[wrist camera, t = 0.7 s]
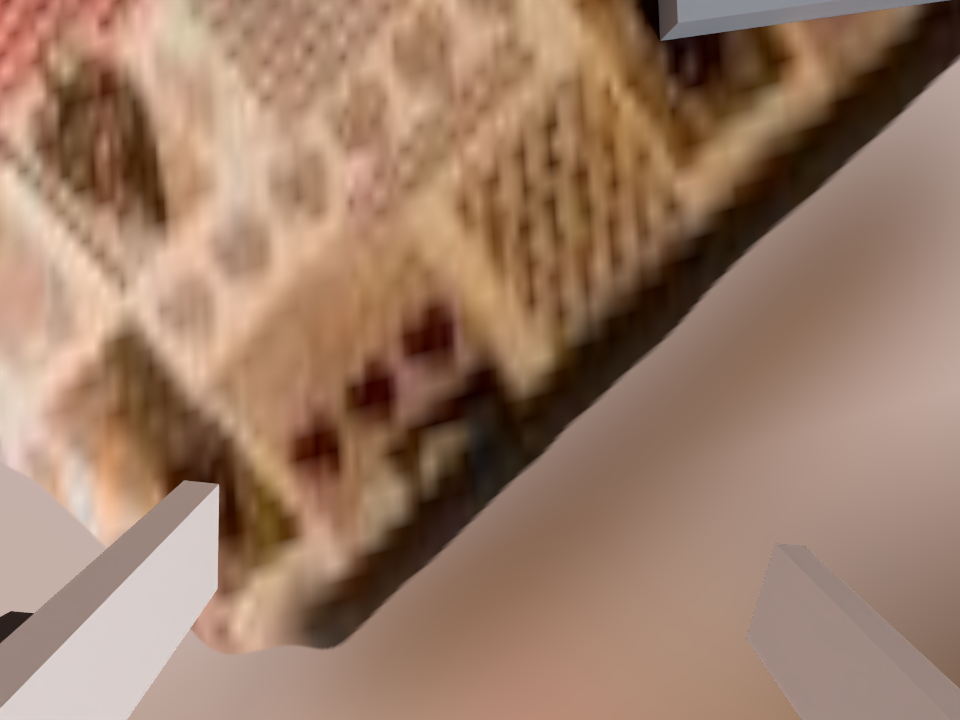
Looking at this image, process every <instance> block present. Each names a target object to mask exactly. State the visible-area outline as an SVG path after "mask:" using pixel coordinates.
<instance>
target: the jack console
mask: <svg viewBox="0 0 960 720" xmlns="http://www.w3.org/2000/svg"><path fill="white" fill-rule="evenodd" d="M939 1H947V0H658V5H659V27H660V41H662V40H669V39H676V38H683V37H691V36H698V35H705V34H712V33H719V32H726V31H733V30H740V29H747V28H755V27H762V26H769V25H776V24H783V23H790V22H797V21H804V20H811V19H819V18H826V17H833V16H840V15H847V14H854V13H861V12H868V11H875V10H883V9H890V8H897V7H904V6H911V5H918V4H925V3H932V2H939Z"/></svg>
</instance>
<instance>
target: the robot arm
mask: <svg viewBox="0 0 960 720" xmlns="http://www.w3.org/2000/svg"><path fill="white" fill-rule="evenodd" d="M218 518H219V484H212V483H203V482H193V481H183V482H182V483H181V484H180V485H179V486H178V487H176V488H175V489H174V490H173V491H172V492H171V493H170V494H169V495H167V496H166V497H165V498H164V499H163V500H162V501H161V502H160V503H158V504H157V505H156V506H155V507H154V508H153V509H152V510H151V511H149V512H148V513H147V514H146V515H145V516H144V517H143V518H141V519H140V520H139V521H138V522H137V523H136V524H135V525H134V526H132V527H131V528H130V529H129V530H128V531H127V532H126V533H125V534H123V535H122V536H121V537H120V538H119V539H118V540H117V541H115V542H114V543H113V544H112V545H111V546H110V547H109V548H108V549H106V550H105V551H104V552H103V553H102V554H101V555H100V556H99V557H97V558H96V559H95V560H94V561H93V562H92V563H91V564H89V565H88V566H87V567H86V568H85V569H84V570H83V571H82V572H80V573H79V574H78V575H77V576H76V577H75V578H74V579H73V580H71V581H70V582H69V583H68V584H67V585H66V586H65V587H64V588H62V589H61V590H60V591H59V592H58V593H57V594H56V595H54V596H53V597H52V598H51V599H50V600H49V601H48V602H47V603H45V604H44V605H43V606H42V607H41V608H40V609H39V610H38V611H37V612H35V613H24V612H13V611H11V612H9V613H7V614H5V615H3V616H1V617H0V720H127V719H128V717H129V716H130V714H131V713H132V711H133V710H134V708H135V707H136V705H137V704H138V703H139V701H140V700H141V698H142V697H143V695H144V694H145V693H146V691H147V690H148V688H149V687H150V685H151V684H152V682H153V681H154V680H155V678H156V677H157V675H158V674H159V672H160V671H161V669H162V668H163V667H164V665H165V664H166V662H167V661H168V659H169V658H170V657H171V655H172V654H173V652H174V651H175V649H176V648H177V647H178V645H179V644H180V642H181V641H182V639H183V638H184V636H185V635H186V633H187V632H188V631H189V629H190V628H191V626H192V625H193V623H194V622H195V621H196V619H197V618H198V616H199V615H200V613H201V612H202V610H203V609H204V608H205V606H206V605H207V603H208V602H209V600H210V599H211V598H212V596H213V595H214V593H215V592H216V590H217V583H218ZM746 639H747V641H748V643H749V644H750V645H751V647H752V648H753V650H754V651H755V653H756V654H757V656H758V657H759V658H760V660H761V661H762V663H763V664H764V666H765V667H766V669H767V670H768V671H769V673H770V674H771V676H772V677H773V679H774V680H775V682H776V683H777V685H778V686H779V687H780V689H781V690H782V692H783V693H784V695H785V696H786V698H787V699H788V700H789V702H790V703H791V705H792V706H793V707H794V709H795V711H796V712H797V714H798V715H799V716H800V718H801V719H802V720H960V689H959V688H958V687H957V686H956V685H955V684H954V683H953V682H951V681H950V680H949V679H948V678H947V677H946V676H945V675H944V674H943V673H942V672H941V671H939V669H937V668H936V667H935V666H934V665H933V664H932V663H931V662H930V661H929V660H928V659H927V658H925V657H924V656H923V655H922V654H921V653H920V652H919V651H918V650H917V649H916V648H914V646H912V645H911V644H910V643H909V642H908V641H907V640H906V639H905V638H904V637H903V636H902V635H901V634H900V633H898V632H897V631H896V630H895V629H894V628H893V627H892V626H891V625H890V624H889V623H888V622H887V621H885V620H884V619H883V618H882V617H881V616H880V615H879V614H878V613H877V612H876V611H875V610H874V609H873V608H871V607H870V606H869V605H868V604H867V603H866V602H865V601H864V600H863V599H861V598H860V597H859V596H858V595H857V594H856V593H855V592H854V591H853V590H852V589H851V588H850V587H849V586H848V585H847V584H845V583H844V582H843V581H842V580H841V579H840V578H839V577H838V576H837V575H836V574H835V573H834V572H832V571H831V570H830V569H829V568H828V567H827V566H826V565H825V564H824V563H823V562H822V561H821V560H820V559H818V558H817V557H816V556H815V555H814V554H813V553H812V552H811V551H810V550H809V549H808V548H807V547H805V546H798V545H788V544H779V543H775V545H774V548H773V551H772V554H771V558H770V561H769V565H768V568H767V571H766V574H765V578H764V581H763V585H762V588H761V591H760V594H759V597H758V601H757V604H756V608H755V611H754V614H753V617H752V620H751V624H750V627H749V630H748V634H747V637H746Z"/></svg>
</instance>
